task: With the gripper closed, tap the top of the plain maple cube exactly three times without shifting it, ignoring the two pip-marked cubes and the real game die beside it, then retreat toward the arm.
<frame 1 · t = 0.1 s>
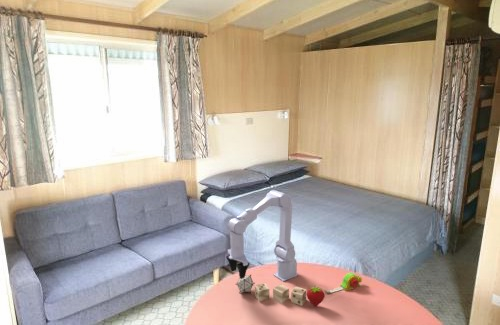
hand: (237, 274, 153), 10 cm above the table, fingers open, 7 cm apart
strawberry: (315, 306, 145), on the table
pip block a: (262, 297, 153), on the table
game die: (245, 292, 157), on the table
plain block: (281, 298, 151), on the table
toy measuring tape: (344, 289, 159), on the table
pip block b: (298, 301, 149), on the table
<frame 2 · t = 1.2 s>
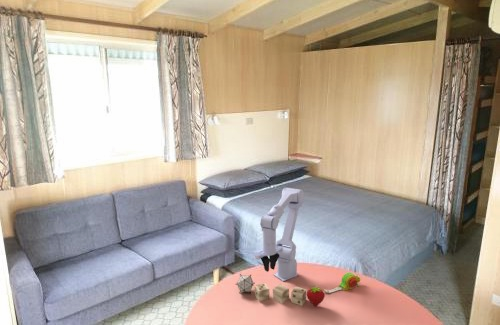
hand: (269, 269, 156), 10 cm above the table, fingers open, 3 cm apart
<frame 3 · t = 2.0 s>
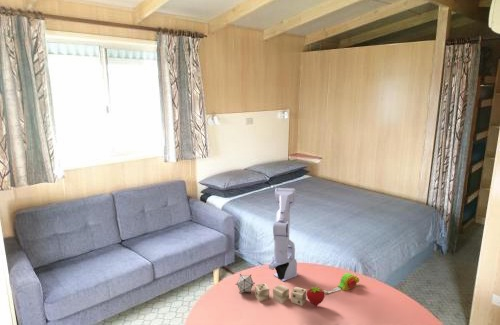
hand: (281, 278, 149), 10 cm above the table, fingers closed
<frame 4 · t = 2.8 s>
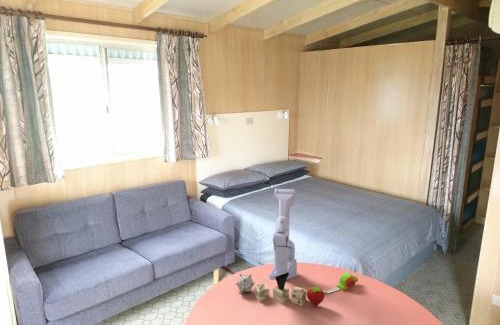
hand: (281, 288, 150), 5 cm above the table, fingers closed
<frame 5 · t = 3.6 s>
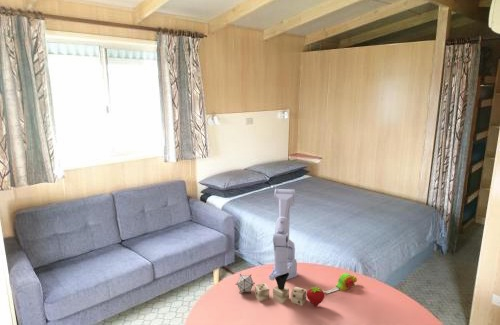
hand: (281, 288, 150), 5 cm above the table, fingers closed, pressing on plain block
plain block: (281, 298, 151), on the table, touching gripper
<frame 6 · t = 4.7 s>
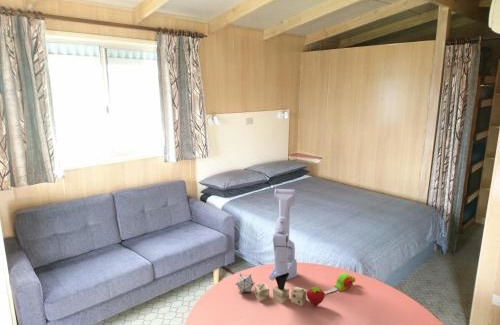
hand: (281, 288, 150), 5 cm above the table, fingers closed, pressing on plain block
plain block: (281, 298, 151), on the table, touching gripper
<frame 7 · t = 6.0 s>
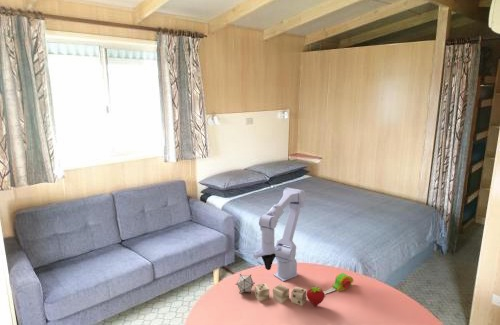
hand: (268, 269, 156), 10 cm above the table, fingers closed
plain block: (281, 298, 151), on the table
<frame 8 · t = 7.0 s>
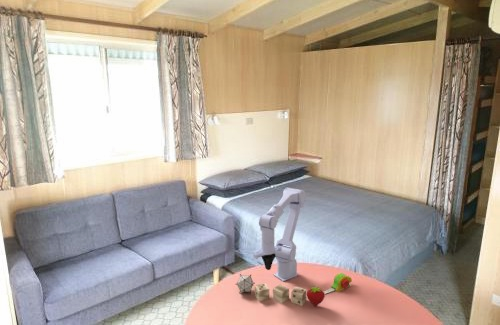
hand: (268, 269, 156), 10 cm above the table, fingers closed
at the end: plain block moved 0.1 cm from its start; plain block tilted 0°; pip block a moved 0.1 cm from its start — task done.
